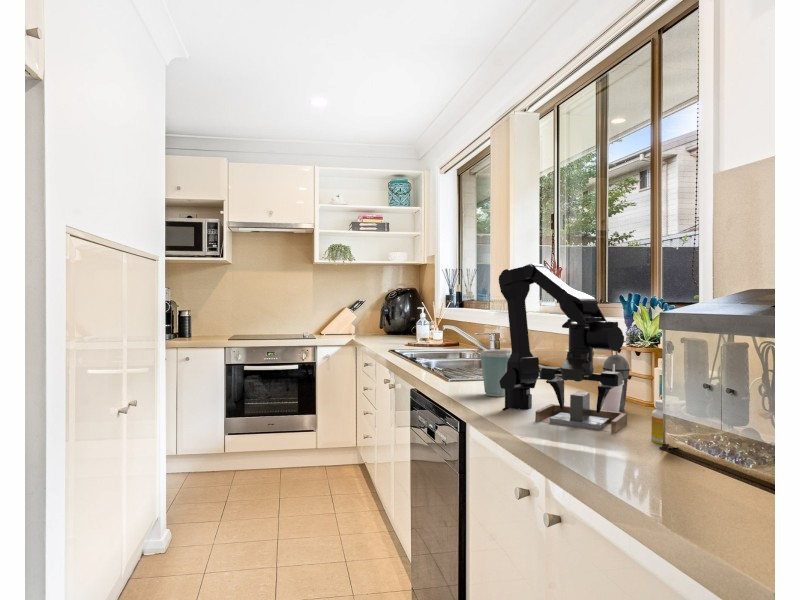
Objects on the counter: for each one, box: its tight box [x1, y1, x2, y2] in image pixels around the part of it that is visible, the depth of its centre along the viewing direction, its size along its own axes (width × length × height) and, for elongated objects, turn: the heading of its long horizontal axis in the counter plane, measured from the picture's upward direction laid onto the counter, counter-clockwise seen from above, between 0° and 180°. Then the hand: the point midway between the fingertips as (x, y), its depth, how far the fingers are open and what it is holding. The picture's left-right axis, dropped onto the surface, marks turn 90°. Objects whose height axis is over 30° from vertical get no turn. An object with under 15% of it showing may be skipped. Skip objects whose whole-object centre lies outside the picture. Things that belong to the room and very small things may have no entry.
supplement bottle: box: [650, 399, 663, 445], centre depth 119 cm, size 5×5×10 cm
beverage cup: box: [602, 350, 631, 412], centre depth 158 cm, size 7×7×20 cm
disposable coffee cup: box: [479, 348, 512, 398], centre depth 178 cm, size 11×11×15 cm
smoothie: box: [598, 364, 624, 412], centre depth 149 cm, size 6×6×14 cm
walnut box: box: [534, 403, 628, 434], centre depth 136 cm, size 19×12×4 cm, turn 56°
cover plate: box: [549, 391, 610, 431], centre depth 135 cm, size 12×9×7 cm
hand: (579, 411), depth 135 cm, fingers open, 8 cm apart
